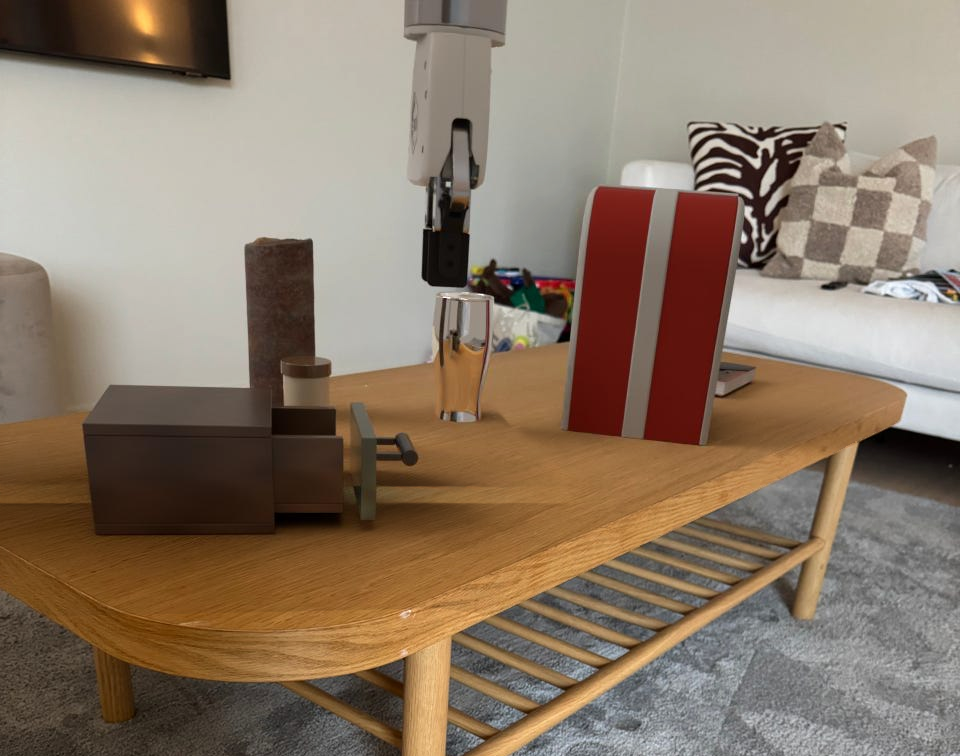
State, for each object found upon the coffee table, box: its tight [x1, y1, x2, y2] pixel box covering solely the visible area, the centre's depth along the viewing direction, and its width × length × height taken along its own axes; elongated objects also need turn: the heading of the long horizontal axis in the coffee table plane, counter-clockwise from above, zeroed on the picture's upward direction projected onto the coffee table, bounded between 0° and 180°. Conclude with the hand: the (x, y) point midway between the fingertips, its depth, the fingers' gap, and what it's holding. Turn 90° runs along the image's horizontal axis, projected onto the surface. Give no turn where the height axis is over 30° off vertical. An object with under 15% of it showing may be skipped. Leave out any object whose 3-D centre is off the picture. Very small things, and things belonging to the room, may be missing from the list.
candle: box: [243, 236, 316, 406], centre depth 104 cm, size 8×7×20 cm
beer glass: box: [431, 291, 495, 423], centre depth 109 cm, size 7×7×15 cm
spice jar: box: [281, 356, 333, 407], centre depth 94 cm, size 5×5×10 cm
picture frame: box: [715, 361, 757, 398], centre depth 150 cm, size 16×2×22 cm
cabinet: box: [81, 384, 276, 536], centre depth 81 cm, size 14×14×9 cm
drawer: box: [272, 401, 419, 521], centre depth 83 cm, size 16×13×7 cm
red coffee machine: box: [560, 183, 746, 446], centre depth 116 cm, size 16×18×27 cm
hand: (443, 282), depth 78 cm, fingers closed
